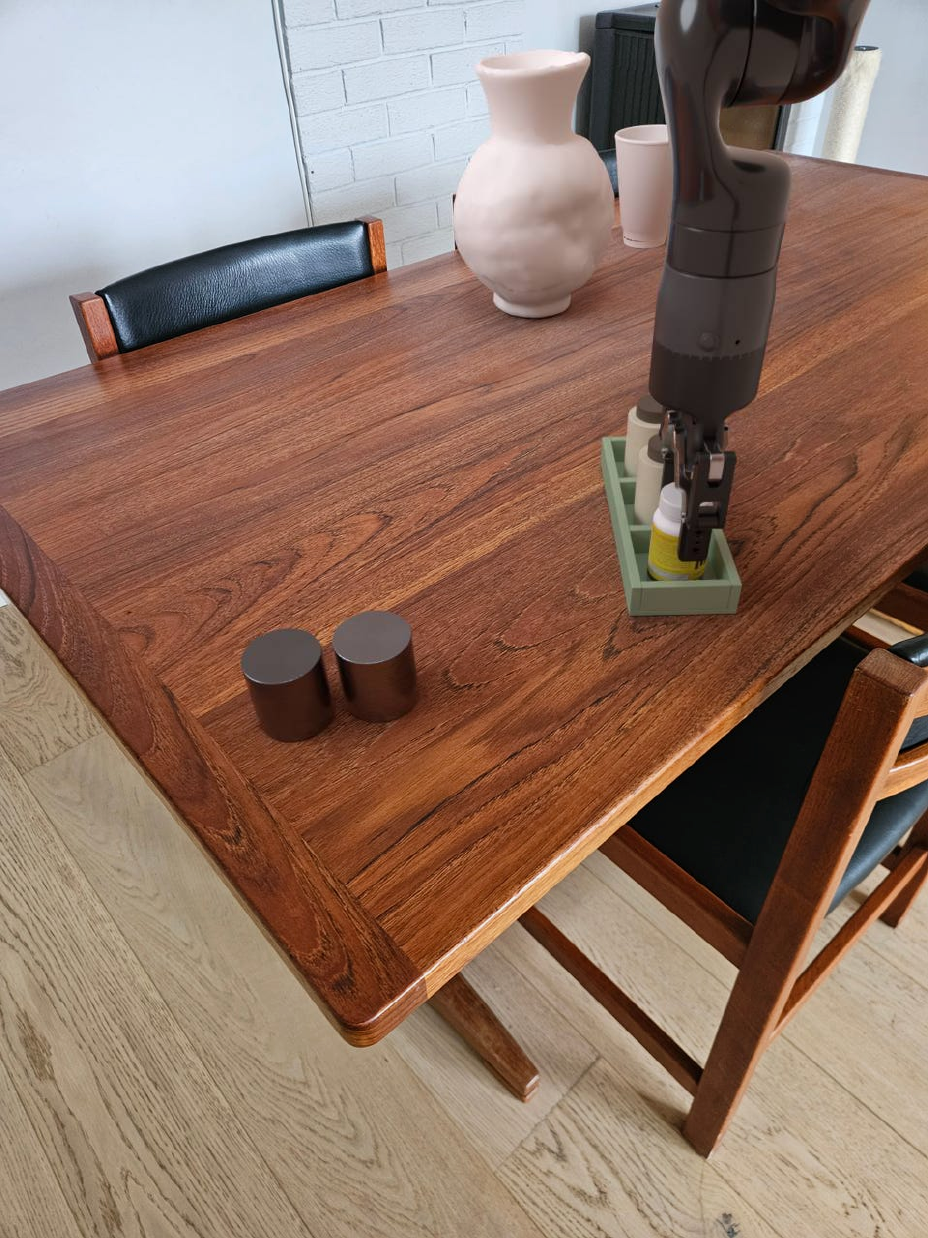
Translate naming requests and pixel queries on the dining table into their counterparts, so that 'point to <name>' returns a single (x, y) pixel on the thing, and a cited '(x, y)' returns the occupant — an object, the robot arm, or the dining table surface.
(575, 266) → the vase
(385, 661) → the grey tin
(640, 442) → the cream bottle
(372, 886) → the dining table surface
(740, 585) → the rack
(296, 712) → the grey tin
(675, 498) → the supplement bottle
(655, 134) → the cup
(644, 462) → the cream bottle
